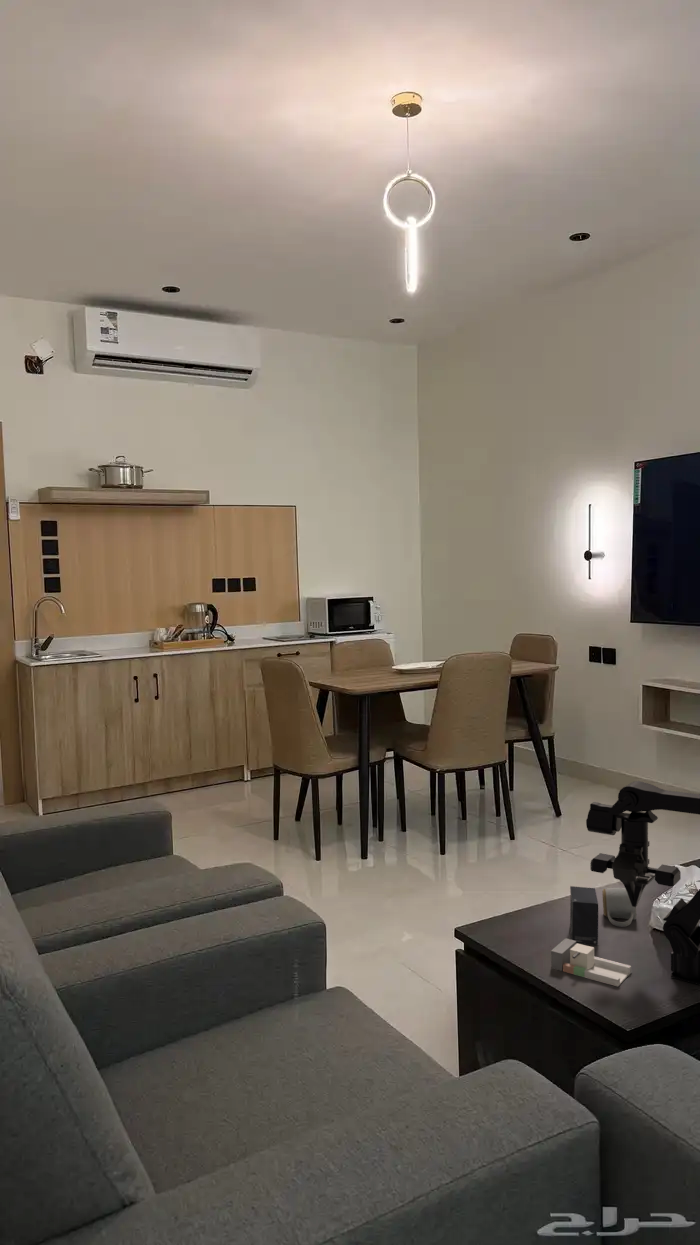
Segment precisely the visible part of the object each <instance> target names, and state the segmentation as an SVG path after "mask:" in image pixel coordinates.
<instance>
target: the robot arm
mask: <svg viewBox="0 0 700 1245" xmlns="http://www.w3.org/2000/svg"><path fill="white" fill-rule="evenodd" d="M659 810H661V811H669V812H677V813H684V814H693V815H699V816H700V793H694V792H693V793H692V792H685V791H684V792H683V791H677V790H676V791H675V790H667V789H663V788H660V787H658V786H656V785H654V784H651V783H649V782H648V783H647V782H644V781H640V780H634V781H632V782H630V783H628V784H626V785H625V786H623V787H622V788H621V789H620V790H619V792H618V795H617V800H616V802H615V803H614V804H613V805H611V804H606V803H601V802H598V801H597V802H596V801H593V802H591V803H590V804H589V810H588V813H587V818H586V820H585V821H586V822H585V823H586V828H587V831H588V832H590V833H597V834H602V835H608V836H615V835H616V833H617V832H618V833H619V832H620V831H621V833H620V835H621V842H620V843H619V847H618V852H617V853H618V854H617V855H616V856H615V855H613V854H607V853H606V854H605V853H603V852H602V853H601V852H600V853H599V854H597V855H596V856H595V857H593V858H592V859H591V860H590V871H591V872H594V873H599V874H604V873H605V872H607V871H608V869H610V870H612V873H613V878H614V879H615V880H617V881H620V882H621V883H622V885H623V886H624V888H626V891H627V893H628V896H629V899H630V902H631V904H632V906H633V907H636V908H637V907H638V906H639V903H640V900H641V898H642V895H643V892H644V890H645V888H646V886H647V885H649V884H650V883H651V882H653V880H654V881H655V882H656V883H657V884H658V885H661V886H666V887H675V886H676V885H677V883H679V882H680V880H681V870H680V869H679V867H678V866H675V865H674V866H672V865H668V864H663V863H662V864H661V865H660V866H659V867H658V868H656V867H652V866H651V867H650V866H649V865H650V858H649V847H650V841H649V824H653V823H655V822H657V821H658V818H659V817H658V816H657V815H656V814H654V813H653V811H659ZM662 921H664V923H663V926H662V931H663V934H664V936H665V938H666V939H667V940H668V941H669V943H670V946H671V950H672V951H671V953H670V971H671V973H670V978H672V979H677V980H679V981H684V982H688V983H691V984H694V983H697V984H696V985H698V984H700V888H699V889H698V890H697V892H696V893H695V894H694V895H693V897H692V898H691V899H689V900H688V901H687V902H686V901H685V900H684V899H683V898H682V897H681V898H680V899H679V900H678V902H676V903H675V904H674V906H673V907H672V908H671V910H670V911H669V912H668V913H667V914H666V915H665V917H664V918H663V919H662Z"/></svg>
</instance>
